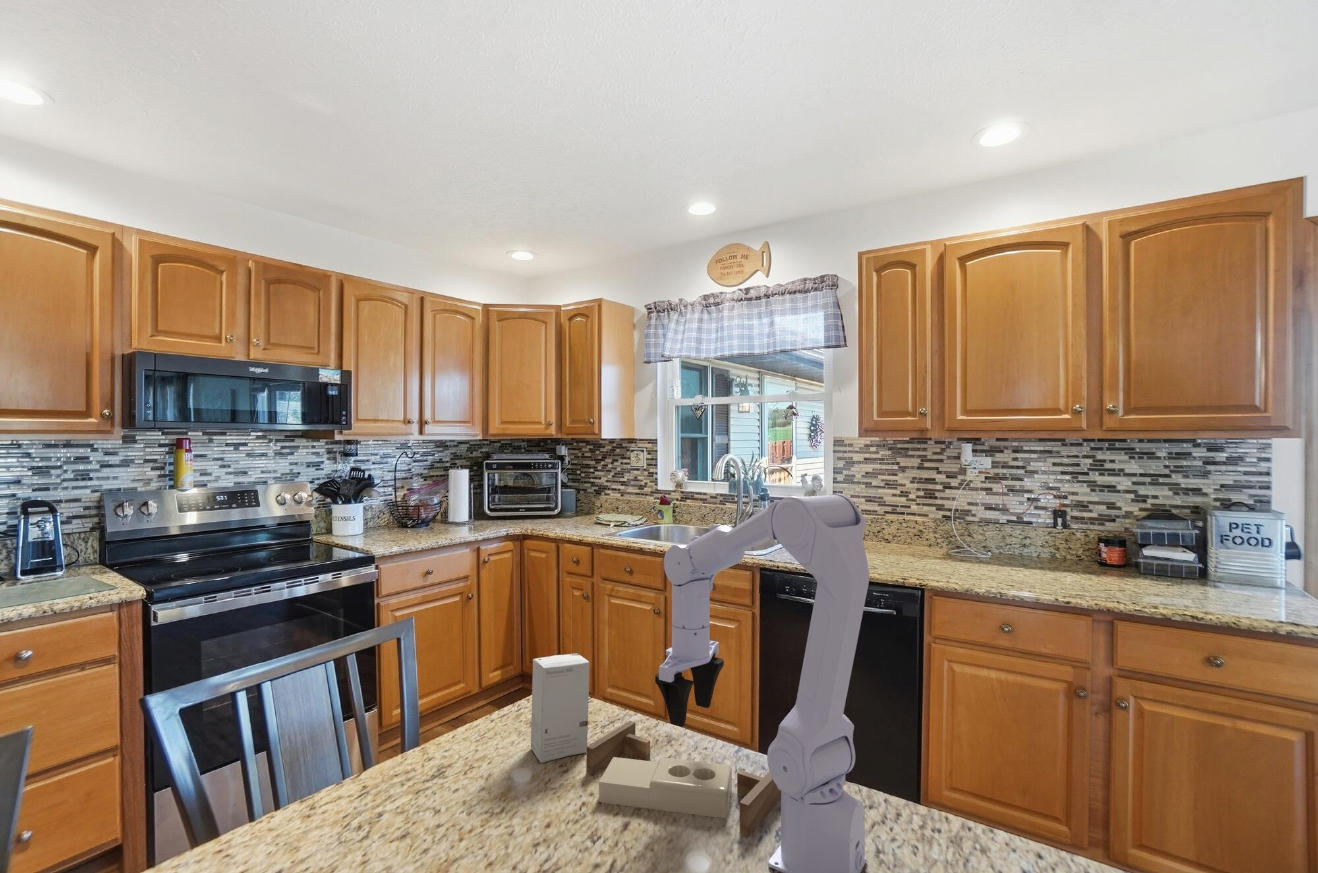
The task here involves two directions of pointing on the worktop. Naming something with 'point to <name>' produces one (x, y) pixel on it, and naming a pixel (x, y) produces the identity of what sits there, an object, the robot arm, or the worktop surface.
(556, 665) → the skincare box
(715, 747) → the worktop surface
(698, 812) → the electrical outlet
